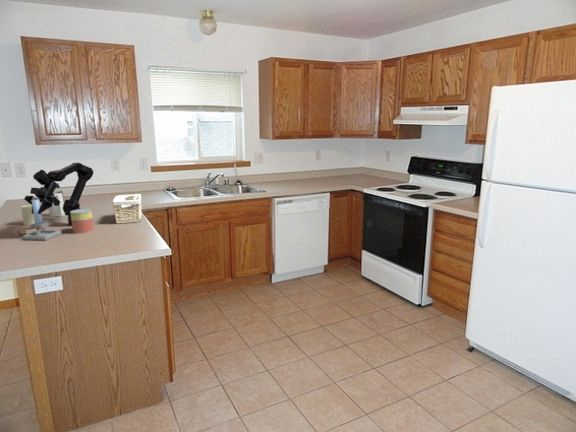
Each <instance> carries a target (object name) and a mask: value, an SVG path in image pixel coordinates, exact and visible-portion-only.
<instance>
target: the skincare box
mask: <svg viewBox="0 0 576 432" xmlns="http://www.w3.org/2000/svg"><path fill="white" fill-rule="evenodd" d="M53 194H54V196H55V197H56V198H57V199H58V200H59V201H60V205H59V206H55V205H54V203H53V204H52V207H50V208H48V209H47V210H48V213H49V217H63V216H66V215H65V213H64V211H63V204H64V202H65V201H64V197H63V194H62V193H53Z"/></svg>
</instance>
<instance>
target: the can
mask: <svg viewBox="0 0 576 432" xmlns="http://www.w3.org/2000/svg"><path fill="white" fill-rule="evenodd" d="M20 209H21V215H22V220H23V226H30V225H31V224H34V223H35V219H34V214H32V205H31V204H29V203H28V204H25V205H21V206H20Z"/></svg>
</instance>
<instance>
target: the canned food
mask: <svg viewBox="0 0 576 432" xmlns="http://www.w3.org/2000/svg"><path fill="white" fill-rule="evenodd" d="M70 213H71V220H72V226H71V227H72V233H73V234H77V233H81V234H88V233H91V232H93V231H95V226H94V216H93V209H92V208H80V209H77V210H73V211H71V212H70Z"/></svg>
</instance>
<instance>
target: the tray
mask: <svg viewBox="0 0 576 432" xmlns="http://www.w3.org/2000/svg"><path fill="white" fill-rule="evenodd" d="M60 235H63V232H62V230H61V229H45V230H39V229H38V230H35V231H33V232H30V233H26V235H22V239H23V241H43V242H44V241H48V240H51V239H53V238H55V237H57V236H60Z"/></svg>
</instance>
